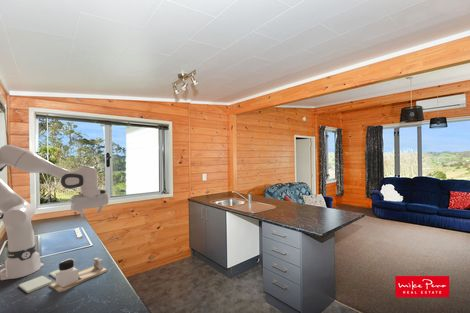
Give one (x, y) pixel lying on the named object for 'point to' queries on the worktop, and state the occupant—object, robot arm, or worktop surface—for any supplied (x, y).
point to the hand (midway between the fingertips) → (91, 215)
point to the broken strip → (38, 282)
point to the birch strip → (83, 275)
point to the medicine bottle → (66, 273)
